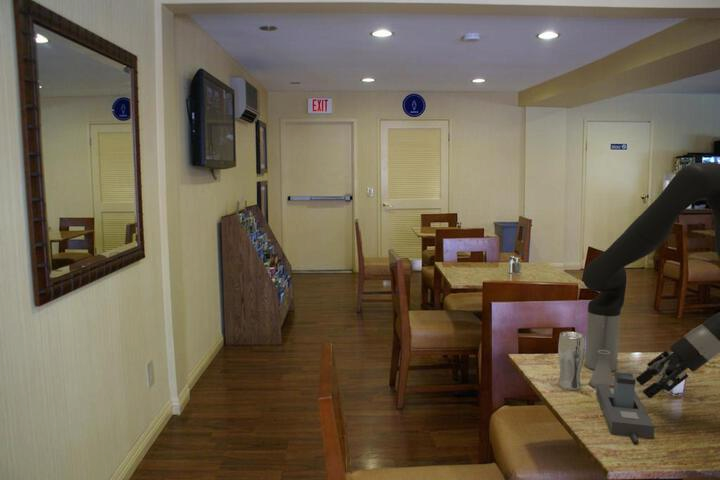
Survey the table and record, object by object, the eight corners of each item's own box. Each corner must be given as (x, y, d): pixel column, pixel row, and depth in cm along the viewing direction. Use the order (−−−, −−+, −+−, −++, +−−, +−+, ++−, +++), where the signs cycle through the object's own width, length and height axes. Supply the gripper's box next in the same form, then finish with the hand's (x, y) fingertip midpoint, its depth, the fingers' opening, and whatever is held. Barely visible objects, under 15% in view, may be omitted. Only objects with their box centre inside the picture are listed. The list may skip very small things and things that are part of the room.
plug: (612, 410, 146) (614, 372, 145) (629, 411, 145) (632, 374, 144) (614, 416, 142) (617, 378, 141) (632, 418, 141) (635, 380, 140)
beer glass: (579, 392, 157) (582, 340, 155) (553, 387, 160) (556, 336, 158) (584, 384, 163) (587, 333, 161) (559, 379, 166) (562, 329, 164)
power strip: (596, 393, 156) (596, 381, 156) (631, 397, 154) (632, 384, 153) (614, 442, 129) (615, 427, 129) (658, 447, 127) (659, 432, 126)
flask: (618, 391, 158) (620, 356, 157) (590, 389, 159) (592, 354, 158) (612, 381, 165) (614, 348, 164) (585, 379, 166) (587, 346, 165)
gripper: (677, 328, 144) (625, 367, 149) (694, 345, 130) (637, 388, 135) (699, 350, 144) (646, 389, 148) (719, 369, 130) (660, 411, 134)
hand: (641, 388), depth 141 cm, fingers open, 8 cm apart
